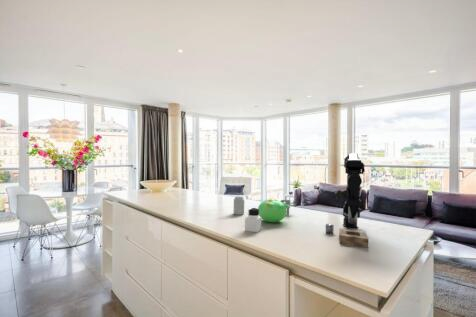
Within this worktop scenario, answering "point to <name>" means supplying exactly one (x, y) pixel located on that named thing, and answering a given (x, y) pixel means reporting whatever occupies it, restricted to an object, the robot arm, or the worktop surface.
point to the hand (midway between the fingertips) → (352, 216)
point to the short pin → (329, 228)
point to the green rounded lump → (272, 210)
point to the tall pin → (350, 219)
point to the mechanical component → (287, 204)
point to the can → (238, 206)
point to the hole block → (353, 238)
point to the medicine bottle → (253, 220)
